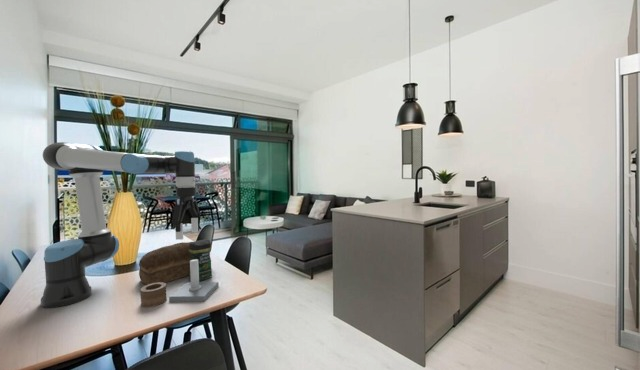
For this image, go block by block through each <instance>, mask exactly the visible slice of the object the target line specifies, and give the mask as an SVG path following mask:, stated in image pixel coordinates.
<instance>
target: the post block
mask: <svg viewBox="0 0 640 370" xmlns="http://www.w3.org/2000/svg"><path fill="white" fill-rule="evenodd" d="M190 277H191V280H190V281H187V282H186V283H185V284H183V285H181V287H179V288H178V289H177V290H176V291H174V292H173V293H172V294H171V295H169V296H168V302H171V303H173V302H175V303H176V302H206V300H208V298H209V297H210V296H211V295H212V293H214V292H215V291H216V289H217V288H218V287H219V281H199V265H198V260H197V259H195V260H191V261H190V275H189V278H190Z"/></svg>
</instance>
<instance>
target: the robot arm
mask: <svg viewBox="0 0 640 370" xmlns="http://www.w3.org/2000/svg"><path fill="white" fill-rule="evenodd" d="M42 159H43V161H44V163H45V164H46V165H48V166H49V167H50V168H53V169H55V170H61V171H68V174H69V176H70V177H72V178H73V179H74V184H75V185H74V186H75V192H76V199H77V206H78V207H77V208H78V211H79V219H80V228H81V233H79V234H78V235H77V238H71V239H66V240H61V241H58V242H55V243H52V244H50V245H48V246H47V247H46V248H44V256H43V261H44V271H45V272H44V273H45V275H44V276H45V286H44V291H43V294H42V296H41V298H40V306H41V307H42V308H44V307H47V308H48V309H52V308H51V307H53V308H59V307H64V306H68V305H72V304H74V303H78V302H81V301H83V300H86V299H87V298H89V297H90V296H91V295H92V290H93V289H92V286H91V285H90V283H89V281H88V279H87V277H86V268H88V267H90V266H92V265H93V266H94V265H96V264H99V263H102V262H105V261H108V260H110V259H112V258H113V257H114V256H115V255H117V253H118V251H119V249H120V241H119V238H117V236H116V235H115V234H112V230H111V229H109V228H107V225H106V214H105V208H104V200H103V194H102V186H101V178H100V177H101V176H102V175H103V174H104V171H113V172H124V173H127V174H133V175H140V174H143V175H144V174H151V175H152V174H155V175H157V174H158V175H161V174H162V175H163V174H175V186H176V189H175V192H176V193H175V195H176V197H179V198H178V199H175V200H174V201H175V202H174V208H173V213H172V218H171V224H173V225H174V227H175V229H174V230H175V240H176V241H177V240H184V223H182V222H183V220H184V217H185V214H186V212H187V210H188V212H189V214H190V216H191V218H190V220H191V221H190V222H191V224H190V225H191V227H190V228H191V233H198V232H199V218H201V212H200V208H199V206H198V205H199V204H198V201H197V200H198V199H197V196H196V195H197V192H196V190H197V188H196V187H195V186H196V182H197V181H196V180H197V179H196V172H195V170H196V167H195V166H196V165H195V163H196V161H195V153H194V152H193V151H191V150H189V151H188V150H176V151H175V152H174V155H164V156H163V155H151V154H141V153H135V152H134V153H129V152H121V151H120V152H119V151H110V150H109V151H108V150H103V149H102V148H100V147H99V146H97V145H92V144H82V143H73V142H71V143H70V142H65V141H64V142H63V141H62V142H60V141H59V142H54V143H51V144H49V145H47V146H46V147H45V148H44V150H43V151H42ZM47 308H46V309H47Z"/></svg>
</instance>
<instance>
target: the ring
mask: <svg viewBox="0 0 640 370" xmlns="http://www.w3.org/2000/svg"><path fill="white" fill-rule="evenodd" d="M167 295H168V294H167V282H165V283H163V282H157V283H152V284H149V285H146V284H145V285H144V286H143V287H141V288H140V306H142V307H144V308H151V307H156V306H159V305H162V304H163V303H165V302H166V301H167Z"/></svg>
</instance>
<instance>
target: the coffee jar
mask: <svg viewBox="0 0 640 370" xmlns="http://www.w3.org/2000/svg"><path fill="white" fill-rule="evenodd" d="M189 242H190V244H189V252H190V255H191V260H195V259H197V260H198V265H199V282H203V281H205V280H208V279H210V278H212V277H213V272H212V270H213V269H212V261H211V262H210V258H211V250H212V243H211V240H209V239H206V238H205V239H199V240H195V241H189ZM189 281H191V277H190V276H189Z"/></svg>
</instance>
